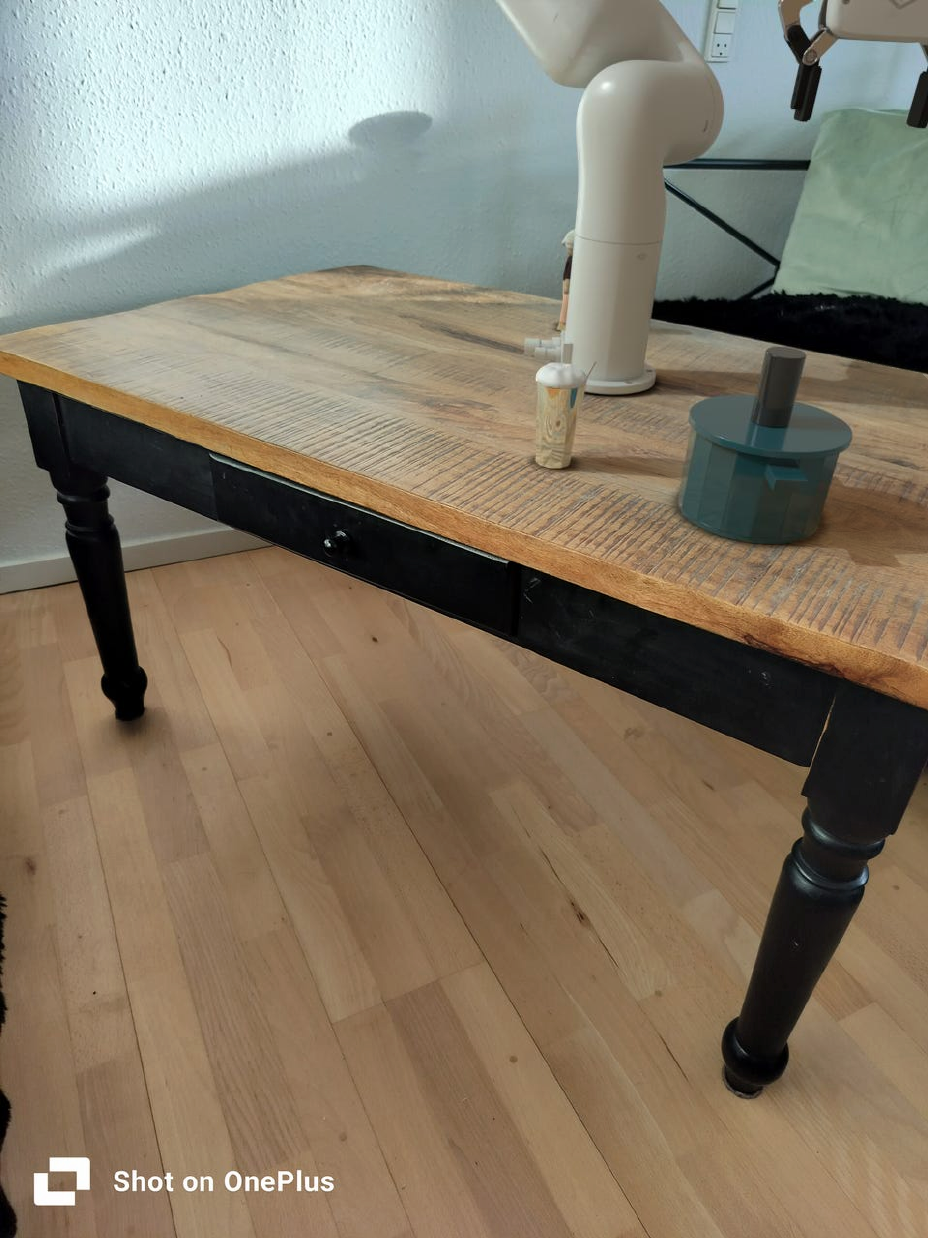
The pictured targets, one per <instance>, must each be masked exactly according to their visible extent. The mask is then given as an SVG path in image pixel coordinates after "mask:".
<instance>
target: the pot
mask: <svg viewBox="0 0 928 1238" xmlns="http://www.w3.org/2000/svg"><path fill="white" fill-rule="evenodd" d="M840 454H841V453H839V454H836V455H833V456H829V457H824V458H817V459H781V458H771V457H764V456H758V455H753V454H749V453H744V452H740V451H737V450H733V449H730V448H727V447H724V446H721V445H719V444H716V443H714V442H712V441H710V440H708V439H706V438H704V437H703V436H701V435H700V434H698V433H697V432H696V431H695V430H694V429H693V428H692V427H691V426H690V432H689V437H688V442H687V448H686V453H685V456H684V457H685V458H684V464H683V469H682V472H681V473H682V474H681V478H680V484H679V488H678V489H679V490H678V495H677V497H678V503H677V505H678V508H679V510H680V513H682V515H683V516H684V517H685V518H686V519H687V520H688V521H690V522H691V523H693V524H694V525H695V526H696V527H698V528H700V529H703V530H705V531H706V532H710V533H711V534H714V535H717V536H720V537H723V538H726V539H729V540H733V541H738V542H744V543H748V544H749V543H750V544H758V545H759V544H760V545H785V544H791V543H797V542H800V541H802V540H803V541H804V540H805V539H807V538H809V537H811V536H812V535H814V534H815V533H816V532H817V529H818V528H819V526H820V523H821V522H820V521H821V518H822V515H823V511H824V508H825V505H826V501H827V498H828V495H829V491H830V488H831V484H832V481H833V478H834V475H835V471H836V467H837V465H838V460H839V457H840Z"/></svg>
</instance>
